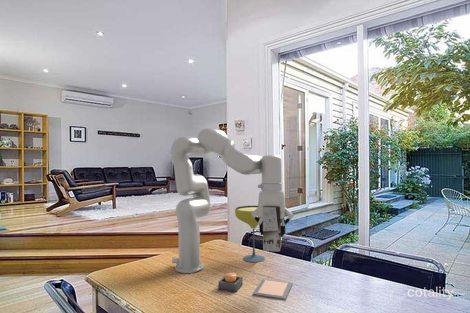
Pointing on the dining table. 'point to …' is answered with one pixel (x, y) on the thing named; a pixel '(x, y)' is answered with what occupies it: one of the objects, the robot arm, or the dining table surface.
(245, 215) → the cocktail glass
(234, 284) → the button housing
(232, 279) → the button
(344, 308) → the dining table surface
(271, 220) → the coffee box
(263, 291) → the picture board
